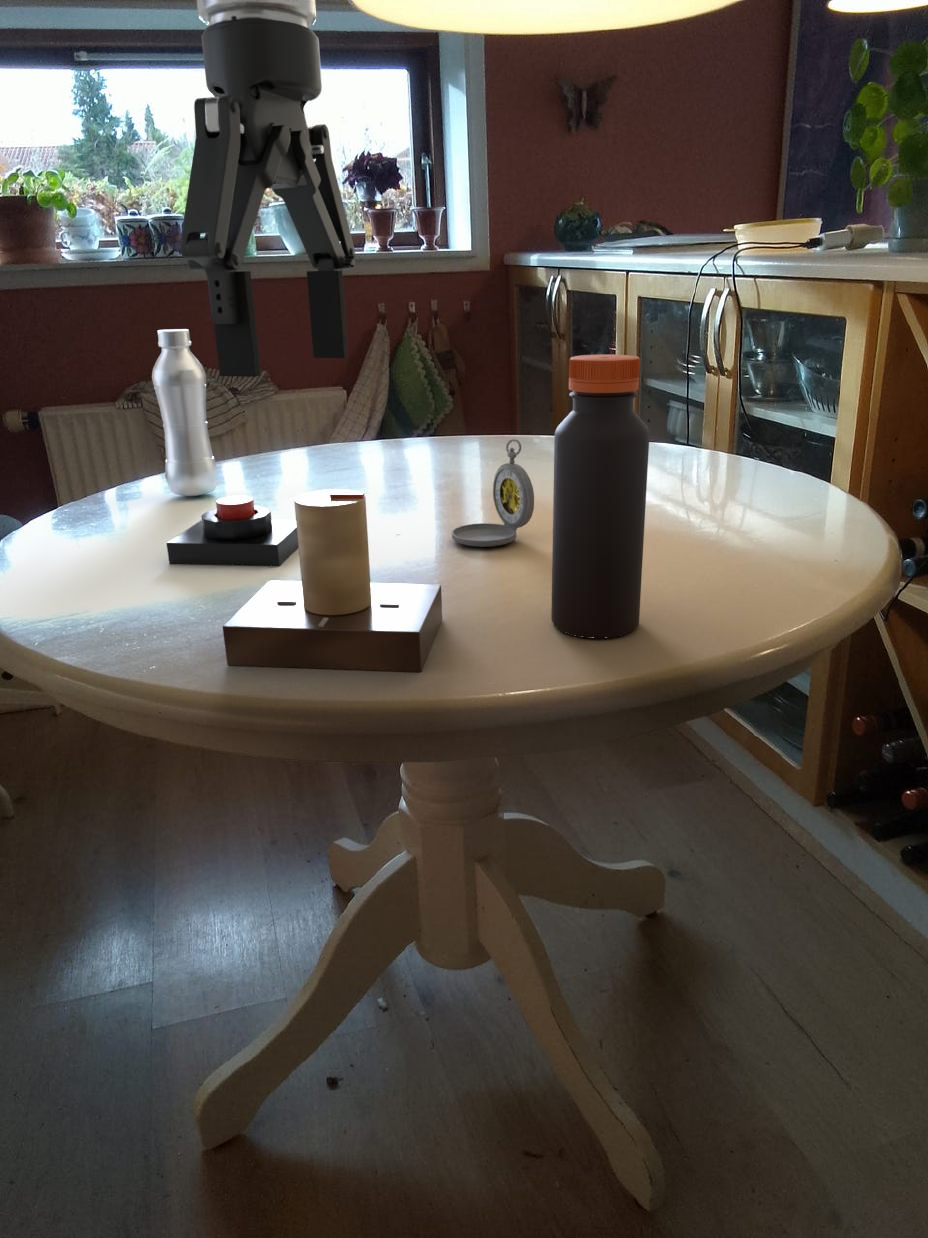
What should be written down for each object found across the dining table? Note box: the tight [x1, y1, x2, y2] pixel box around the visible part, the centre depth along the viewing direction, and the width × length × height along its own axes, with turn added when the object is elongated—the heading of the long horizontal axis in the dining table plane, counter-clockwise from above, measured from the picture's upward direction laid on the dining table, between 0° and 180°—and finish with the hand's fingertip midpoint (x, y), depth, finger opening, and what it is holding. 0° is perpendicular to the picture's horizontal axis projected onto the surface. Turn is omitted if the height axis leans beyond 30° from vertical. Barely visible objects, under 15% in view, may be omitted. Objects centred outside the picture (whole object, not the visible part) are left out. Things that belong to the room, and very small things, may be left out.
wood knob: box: [293, 489, 372, 615], centre depth 64 cm, size 5×5×8 cm
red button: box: [215, 495, 255, 519], centre depth 88 cm, size 4×4×2 cm
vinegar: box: [550, 353, 650, 639], centre depth 66 cm, size 7×7×20 cm
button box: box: [166, 505, 299, 568], centre depth 89 cm, size 11×9×4 cm
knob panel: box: [222, 580, 443, 673], centre depth 67 cm, size 14×10×3 cm
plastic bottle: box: [151, 328, 219, 497], centre depth 110 cm, size 6×7×20 cm
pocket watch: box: [451, 438, 535, 548], centre depth 90 cm, size 8×8×10 cm
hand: (289, 366), depth 66 cm, fingers open, 13 cm apart
